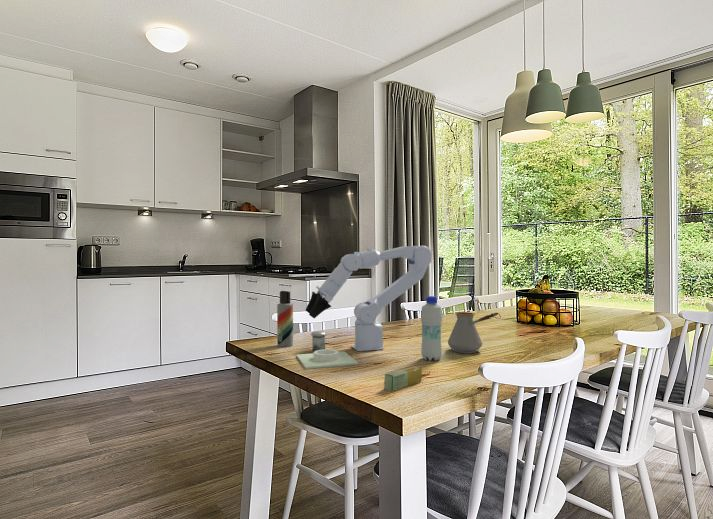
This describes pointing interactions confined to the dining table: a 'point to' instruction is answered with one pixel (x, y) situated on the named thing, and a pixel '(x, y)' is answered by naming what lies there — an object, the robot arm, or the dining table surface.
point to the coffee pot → (466, 333)
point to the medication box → (402, 378)
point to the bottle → (431, 329)
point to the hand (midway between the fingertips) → (309, 314)
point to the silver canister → (318, 340)
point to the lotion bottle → (285, 320)
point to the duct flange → (326, 359)
